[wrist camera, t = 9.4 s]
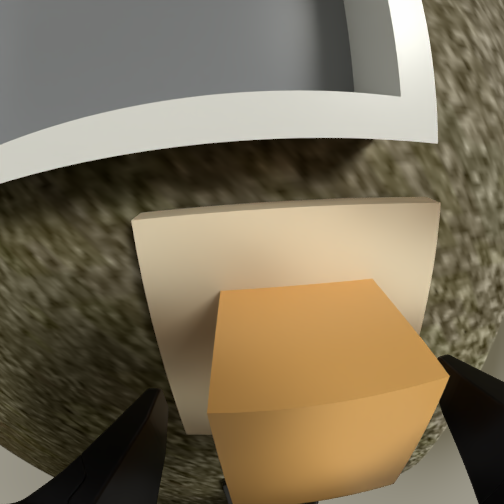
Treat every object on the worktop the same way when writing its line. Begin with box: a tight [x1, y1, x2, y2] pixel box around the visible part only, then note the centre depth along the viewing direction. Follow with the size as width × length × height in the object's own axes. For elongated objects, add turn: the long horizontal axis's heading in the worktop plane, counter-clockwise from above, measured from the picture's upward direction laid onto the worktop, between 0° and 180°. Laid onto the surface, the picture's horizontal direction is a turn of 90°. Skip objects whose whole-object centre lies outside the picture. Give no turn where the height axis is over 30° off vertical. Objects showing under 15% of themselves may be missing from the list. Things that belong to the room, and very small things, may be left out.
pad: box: [131, 197, 441, 435], centre depth 11 cm, size 10×10×1 cm
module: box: [207, 279, 450, 504], centre depth 8 cm, size 5×5×5 cm
